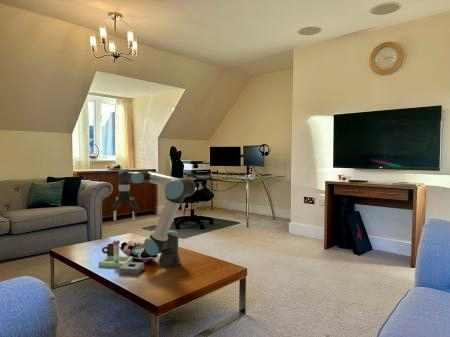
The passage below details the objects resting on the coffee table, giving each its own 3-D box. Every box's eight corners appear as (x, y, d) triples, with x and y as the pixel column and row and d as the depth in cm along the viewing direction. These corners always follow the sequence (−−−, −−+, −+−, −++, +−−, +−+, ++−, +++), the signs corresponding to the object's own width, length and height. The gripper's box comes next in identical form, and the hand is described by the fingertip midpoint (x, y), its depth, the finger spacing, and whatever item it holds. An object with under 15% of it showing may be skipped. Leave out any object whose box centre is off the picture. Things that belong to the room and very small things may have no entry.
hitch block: (144, 268, 204) (144, 262, 204) (137, 275, 192) (137, 269, 192) (126, 267, 206) (126, 261, 205) (118, 274, 194) (118, 268, 193)
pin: (120, 262, 214) (120, 240, 214) (117, 264, 210) (118, 242, 209) (114, 261, 215) (114, 240, 214) (111, 263, 210) (111, 241, 210)
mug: (104, 261, 217) (104, 248, 217) (99, 258, 222) (99, 245, 222) (120, 257, 226) (120, 244, 226) (114, 254, 231) (114, 242, 231)
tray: (132, 261, 219) (132, 256, 218) (124, 268, 205) (124, 263, 205) (108, 259, 220) (108, 255, 220) (98, 266, 206) (98, 262, 206)
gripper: (143, 190, 220) (143, 219, 221) (109, 189, 221) (109, 219, 222) (140, 191, 213) (140, 221, 214) (104, 190, 214) (104, 221, 215)
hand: (124, 220), depth 218 cm, fingers open, 13 cm apart
